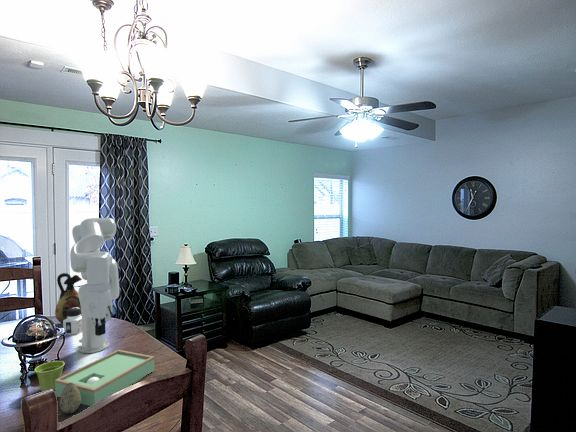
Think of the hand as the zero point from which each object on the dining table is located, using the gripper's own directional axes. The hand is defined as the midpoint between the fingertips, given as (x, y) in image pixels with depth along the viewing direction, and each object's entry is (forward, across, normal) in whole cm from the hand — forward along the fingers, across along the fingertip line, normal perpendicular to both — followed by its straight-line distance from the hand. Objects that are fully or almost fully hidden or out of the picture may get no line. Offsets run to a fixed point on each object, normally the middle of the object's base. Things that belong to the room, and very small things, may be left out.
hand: (100, 334), depth 137 cm
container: (+21, -64, +34) cm, 75 cm away
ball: (+16, +2, -6) cm, 17 cm away
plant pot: (+20, -15, -10) cm, 27 cm away
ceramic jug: (+21, -79, +42) cm, 92 cm away
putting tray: (+19, +2, +1) cm, 19 cm away
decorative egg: (+19, +7, -18) cm, 27 cm away
